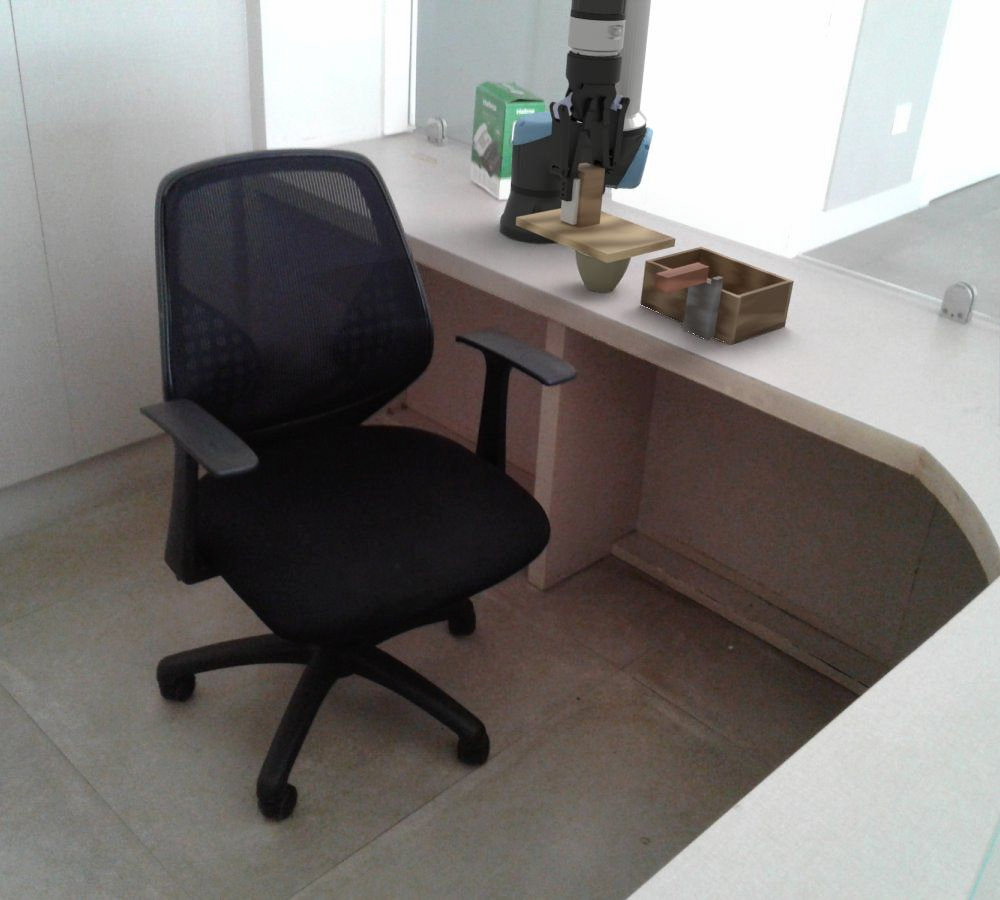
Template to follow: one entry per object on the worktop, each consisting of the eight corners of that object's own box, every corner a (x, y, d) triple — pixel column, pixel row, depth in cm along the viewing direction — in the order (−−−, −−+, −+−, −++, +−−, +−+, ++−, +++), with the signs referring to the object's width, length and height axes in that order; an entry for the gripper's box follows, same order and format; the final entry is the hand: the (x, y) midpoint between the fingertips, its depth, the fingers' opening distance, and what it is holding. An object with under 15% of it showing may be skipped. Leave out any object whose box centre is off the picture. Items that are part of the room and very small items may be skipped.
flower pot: (619, 301, 181) (624, 262, 178) (564, 291, 184) (568, 252, 180) (634, 283, 189) (638, 245, 186) (581, 274, 192) (584, 236, 189)
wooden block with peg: (515, 225, 155) (519, 162, 150) (582, 211, 163) (587, 151, 158) (607, 263, 142) (614, 195, 138) (674, 246, 150) (683, 182, 145)
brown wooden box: (632, 307, 179) (639, 249, 174) (694, 289, 188) (702, 234, 183) (722, 347, 166) (733, 286, 161) (784, 326, 175) (796, 268, 170)
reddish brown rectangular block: (654, 288, 160) (656, 273, 159) (695, 277, 166) (697, 262, 164) (665, 293, 159) (667, 277, 157) (706, 281, 164) (709, 266, 163)
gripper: (567, 59, 135) (553, 235, 146) (658, 51, 144) (639, 217, 156) (529, 50, 140) (519, 221, 151) (620, 43, 149) (604, 204, 161)
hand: (580, 219), depth 154 cm, fingers closed on wooden block with peg, 4 cm apart
